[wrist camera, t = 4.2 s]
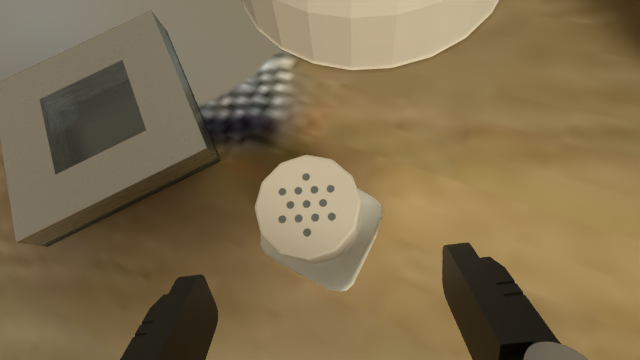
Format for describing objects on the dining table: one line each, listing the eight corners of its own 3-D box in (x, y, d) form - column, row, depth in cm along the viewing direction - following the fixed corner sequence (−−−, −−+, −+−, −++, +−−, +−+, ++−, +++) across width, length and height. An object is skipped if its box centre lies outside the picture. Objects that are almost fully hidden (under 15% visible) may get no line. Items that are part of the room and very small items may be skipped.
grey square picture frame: (167, 31, 25) (151, 10, 23) (220, 160, 21) (206, 147, 19) (20, 101, 25) (-8, 85, 23) (47, 246, 21) (15, 242, 19)
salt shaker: (285, 259, 19) (215, 233, 10) (318, 198, 20) (282, 123, 11) (348, 295, 18) (335, 301, 9) (380, 229, 19) (398, 174, 10)
